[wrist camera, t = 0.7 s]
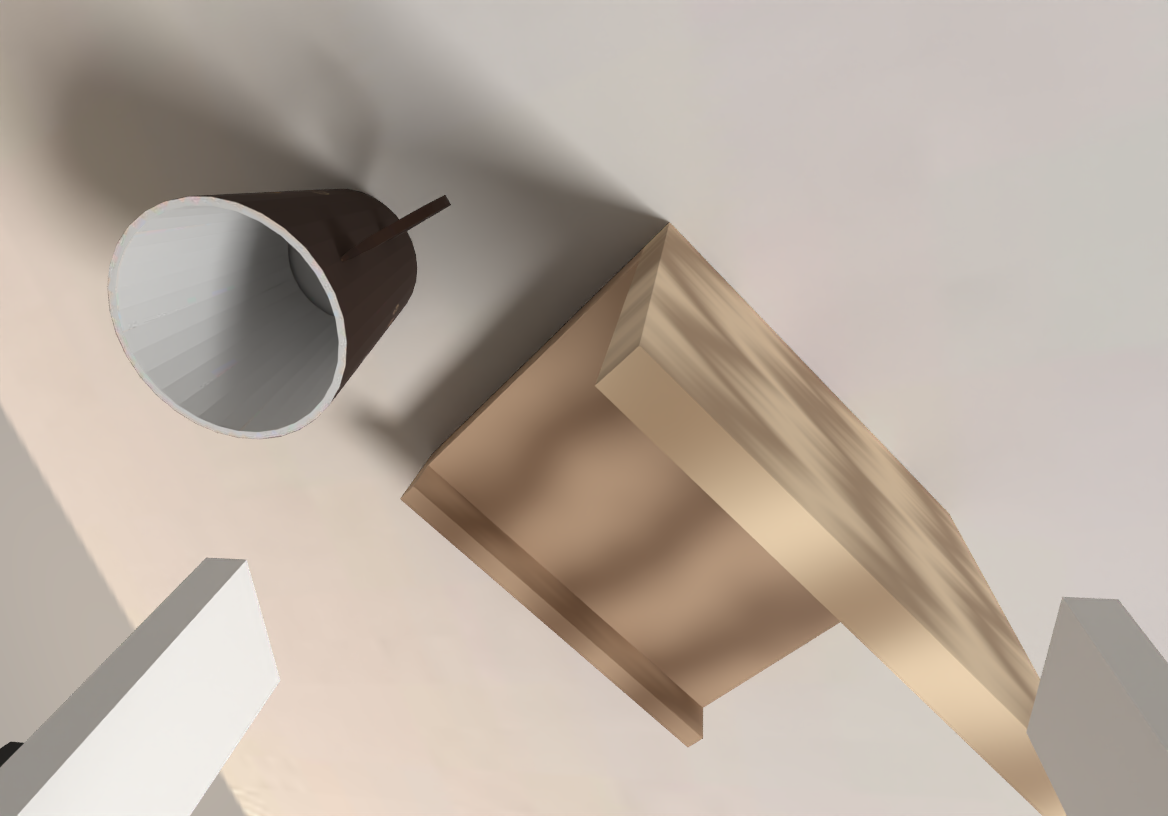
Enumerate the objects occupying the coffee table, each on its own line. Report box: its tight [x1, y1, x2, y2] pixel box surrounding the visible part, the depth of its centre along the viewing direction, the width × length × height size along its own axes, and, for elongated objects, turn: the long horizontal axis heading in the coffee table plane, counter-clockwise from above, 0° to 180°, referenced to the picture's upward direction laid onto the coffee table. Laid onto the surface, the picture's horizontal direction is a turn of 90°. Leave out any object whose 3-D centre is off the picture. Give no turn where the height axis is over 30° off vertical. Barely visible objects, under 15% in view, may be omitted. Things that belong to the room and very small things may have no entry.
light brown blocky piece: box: [400, 222, 1067, 816], centre depth 30 cm, size 19×16×16 cm
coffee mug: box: [107, 189, 451, 439], centre depth 30 cm, size 12×9×10 cm
